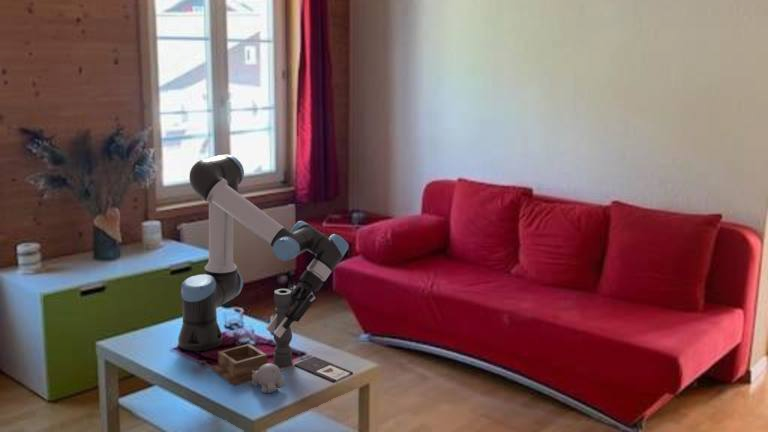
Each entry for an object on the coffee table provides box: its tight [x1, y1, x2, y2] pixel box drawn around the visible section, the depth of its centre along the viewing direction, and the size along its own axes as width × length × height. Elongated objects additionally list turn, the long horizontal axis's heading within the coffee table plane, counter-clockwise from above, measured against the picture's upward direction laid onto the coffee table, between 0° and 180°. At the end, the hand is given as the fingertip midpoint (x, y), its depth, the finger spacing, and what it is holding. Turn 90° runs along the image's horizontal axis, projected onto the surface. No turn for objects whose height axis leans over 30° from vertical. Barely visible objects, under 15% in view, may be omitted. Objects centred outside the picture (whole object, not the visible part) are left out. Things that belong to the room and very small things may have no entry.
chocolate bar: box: [293, 356, 353, 383], centre depth 253 cm, size 9×1×18 cm
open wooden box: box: [212, 343, 268, 386], centre depth 249 cm, size 14×14×6 cm
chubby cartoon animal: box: [251, 362, 286, 394], centre depth 238 cm, size 7×12×8 cm, turn 48°
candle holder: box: [273, 288, 293, 368], centre depth 254 cm, size 6×6×25 cm
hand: (272, 333), depth 252 cm, fingers closed on candle holder, 4 cm apart
